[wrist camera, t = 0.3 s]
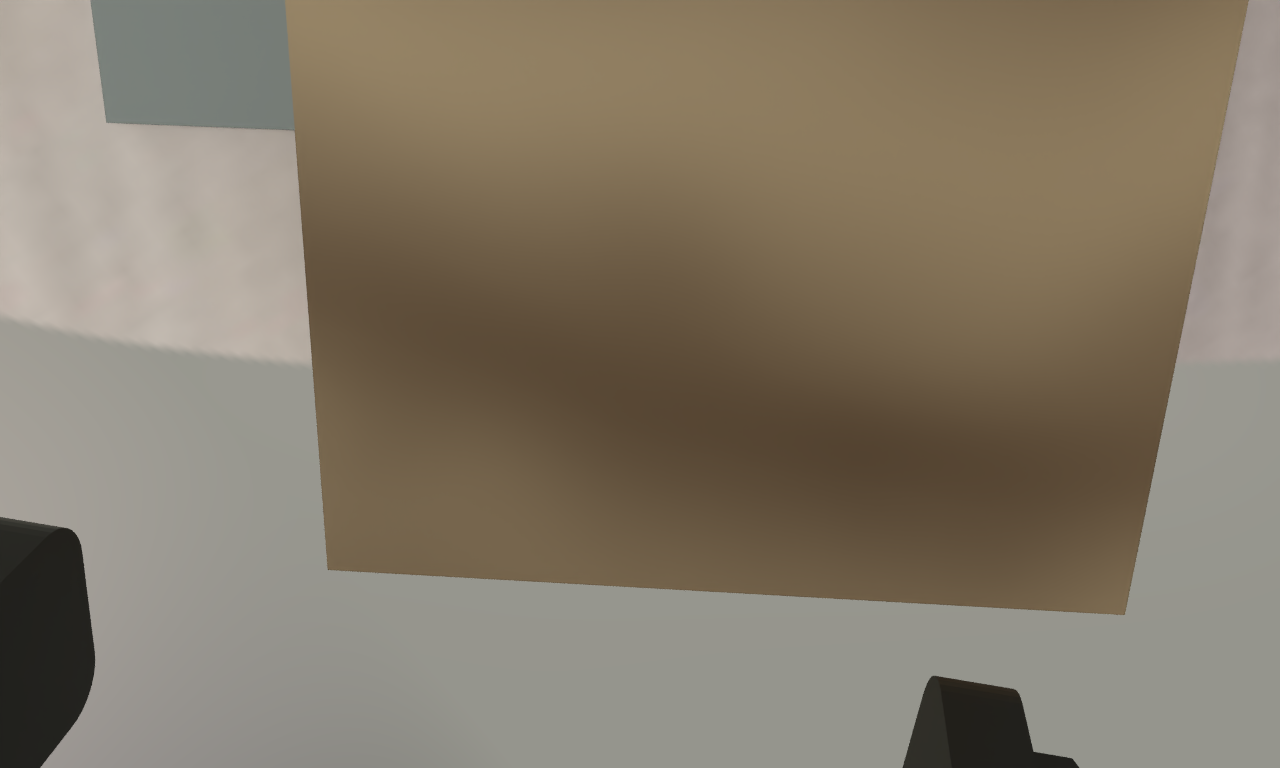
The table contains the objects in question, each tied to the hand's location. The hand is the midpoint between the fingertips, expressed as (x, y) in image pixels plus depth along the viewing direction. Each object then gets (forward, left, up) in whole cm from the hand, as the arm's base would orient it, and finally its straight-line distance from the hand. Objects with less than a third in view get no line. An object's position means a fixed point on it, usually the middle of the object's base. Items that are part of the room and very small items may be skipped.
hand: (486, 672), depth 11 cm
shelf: (-8, +2, -27) cm, 29 cm away
